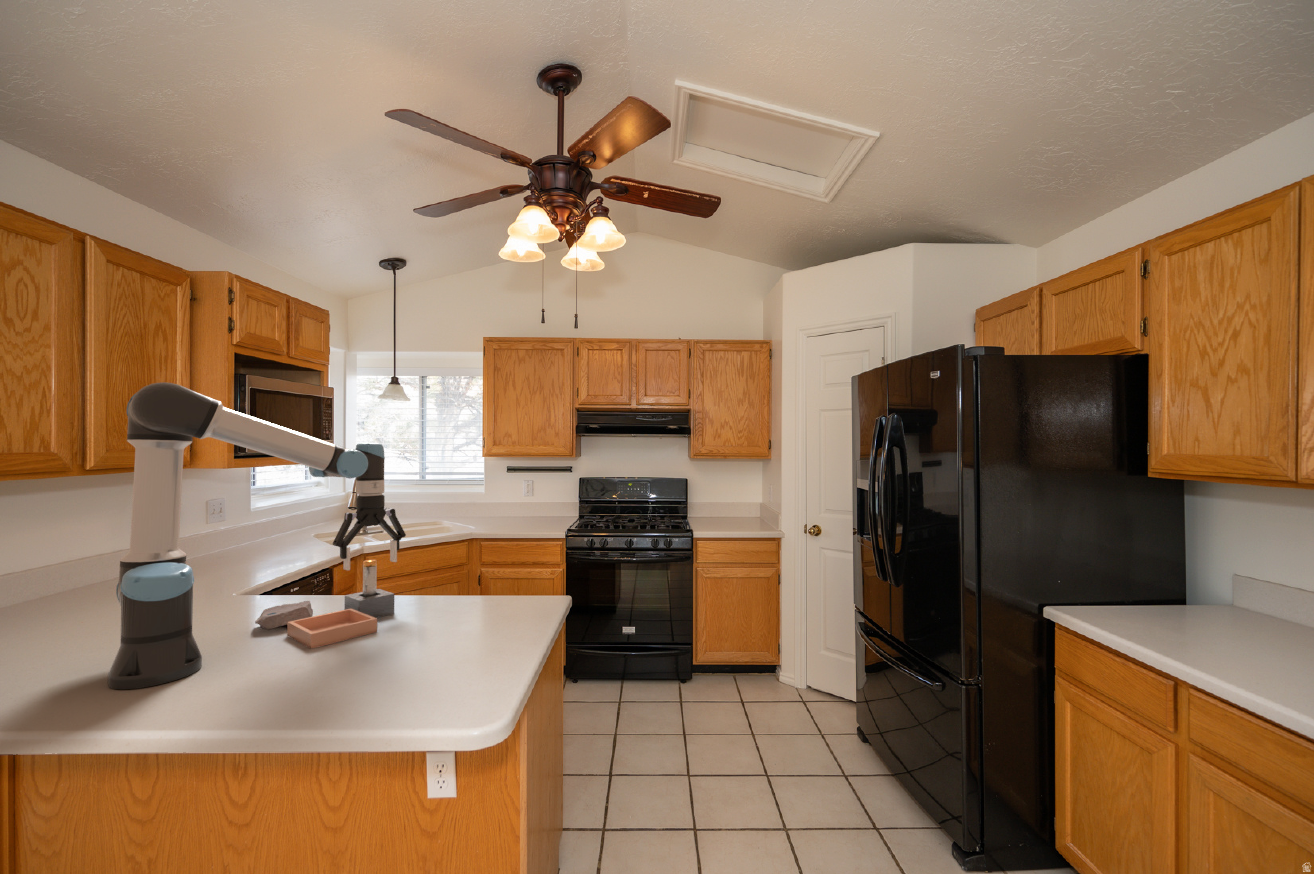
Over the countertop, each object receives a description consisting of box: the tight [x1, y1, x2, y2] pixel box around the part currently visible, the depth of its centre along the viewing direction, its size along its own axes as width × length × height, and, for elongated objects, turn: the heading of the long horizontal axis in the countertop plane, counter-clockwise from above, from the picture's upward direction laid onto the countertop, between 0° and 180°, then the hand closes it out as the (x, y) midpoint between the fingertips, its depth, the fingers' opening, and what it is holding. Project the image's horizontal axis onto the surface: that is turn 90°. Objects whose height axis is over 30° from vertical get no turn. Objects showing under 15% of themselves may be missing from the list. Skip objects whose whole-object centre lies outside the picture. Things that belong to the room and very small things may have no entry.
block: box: [343, 588, 395, 619], centre depth 164 cm, size 10×10×6 cm
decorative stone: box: [255, 600, 314, 630], centre depth 153 cm, size 13×10×6 cm
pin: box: [362, 559, 378, 597], centre depth 164 cm, size 4×4×16 cm
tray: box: [286, 608, 378, 649], centre depth 146 cm, size 16×16×4 cm
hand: (370, 565), depth 164 cm, fingers open, 13 cm apart
